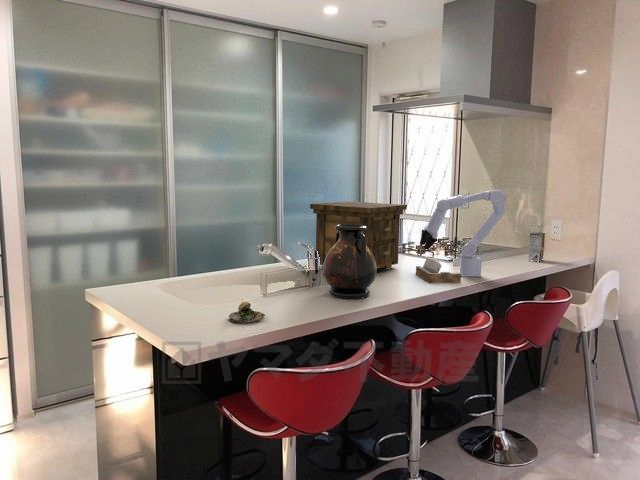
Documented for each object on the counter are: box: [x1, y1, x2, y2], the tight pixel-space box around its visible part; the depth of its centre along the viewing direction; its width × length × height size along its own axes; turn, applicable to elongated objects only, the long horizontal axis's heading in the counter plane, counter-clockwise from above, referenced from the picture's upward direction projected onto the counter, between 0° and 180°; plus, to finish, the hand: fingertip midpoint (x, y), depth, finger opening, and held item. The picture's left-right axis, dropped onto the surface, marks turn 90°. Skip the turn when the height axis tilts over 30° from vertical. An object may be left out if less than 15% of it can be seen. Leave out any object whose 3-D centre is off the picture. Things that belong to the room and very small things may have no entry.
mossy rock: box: [228, 299, 266, 325], centre depth 174 cm, size 12×12×8 cm
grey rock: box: [422, 257, 443, 273], centre depth 257 cm, size 8×9×10 cm
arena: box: [415, 265, 462, 284], centre depth 248 cm, size 15×20×5 cm
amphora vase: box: [322, 224, 378, 300], centre depth 210 cm, size 22×22×28 cm
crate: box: [309, 200, 408, 270], centre depth 267 cm, size 35×35×33 cm
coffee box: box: [528, 231, 546, 262], centre depth 302 cm, size 9×6×16 cm
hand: (423, 246), depth 263 cm, fingers open, 7 cm apart
